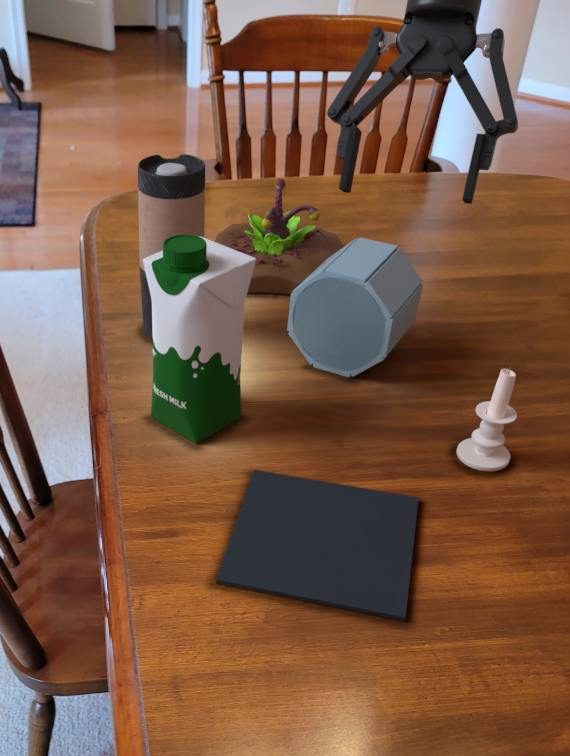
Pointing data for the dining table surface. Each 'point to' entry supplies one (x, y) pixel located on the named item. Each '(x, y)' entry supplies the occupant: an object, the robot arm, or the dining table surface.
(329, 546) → the mat
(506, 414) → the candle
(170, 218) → the travel mug
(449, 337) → the dining table surface
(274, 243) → the plant
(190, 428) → the milk carton
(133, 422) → the dining table surface
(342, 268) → the pail
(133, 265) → the dining table surface
